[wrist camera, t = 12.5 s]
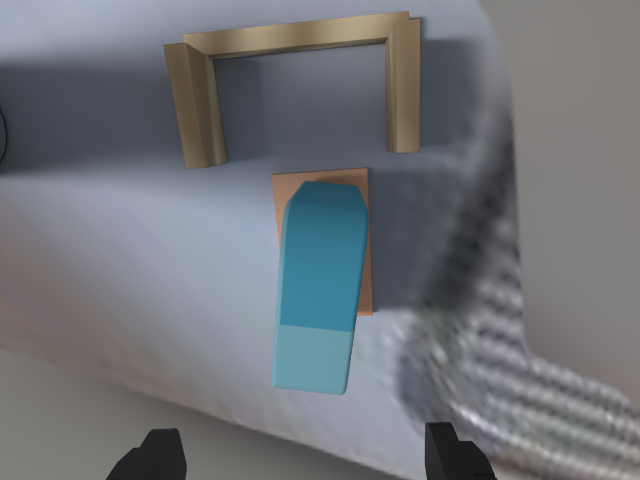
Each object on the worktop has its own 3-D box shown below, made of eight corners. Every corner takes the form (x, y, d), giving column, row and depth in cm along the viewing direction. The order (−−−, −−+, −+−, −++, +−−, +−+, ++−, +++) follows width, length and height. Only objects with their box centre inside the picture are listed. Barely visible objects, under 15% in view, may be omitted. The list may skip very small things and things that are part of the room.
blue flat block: (342, 311, 32) (344, 408, 21) (294, 306, 32) (269, 399, 21) (358, 183, 29) (371, 213, 17) (304, 178, 29) (282, 204, 17)
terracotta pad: (288, 315, 33) (287, 318, 33) (272, 174, 30) (271, 175, 29) (372, 312, 33) (372, 315, 32) (366, 167, 29) (367, 168, 28)
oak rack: (210, 164, 30) (186, 169, 25) (190, 40, 27) (158, 18, 22) (405, 149, 28) (419, 151, 24) (404, 18, 26) (420, -10, 21)
